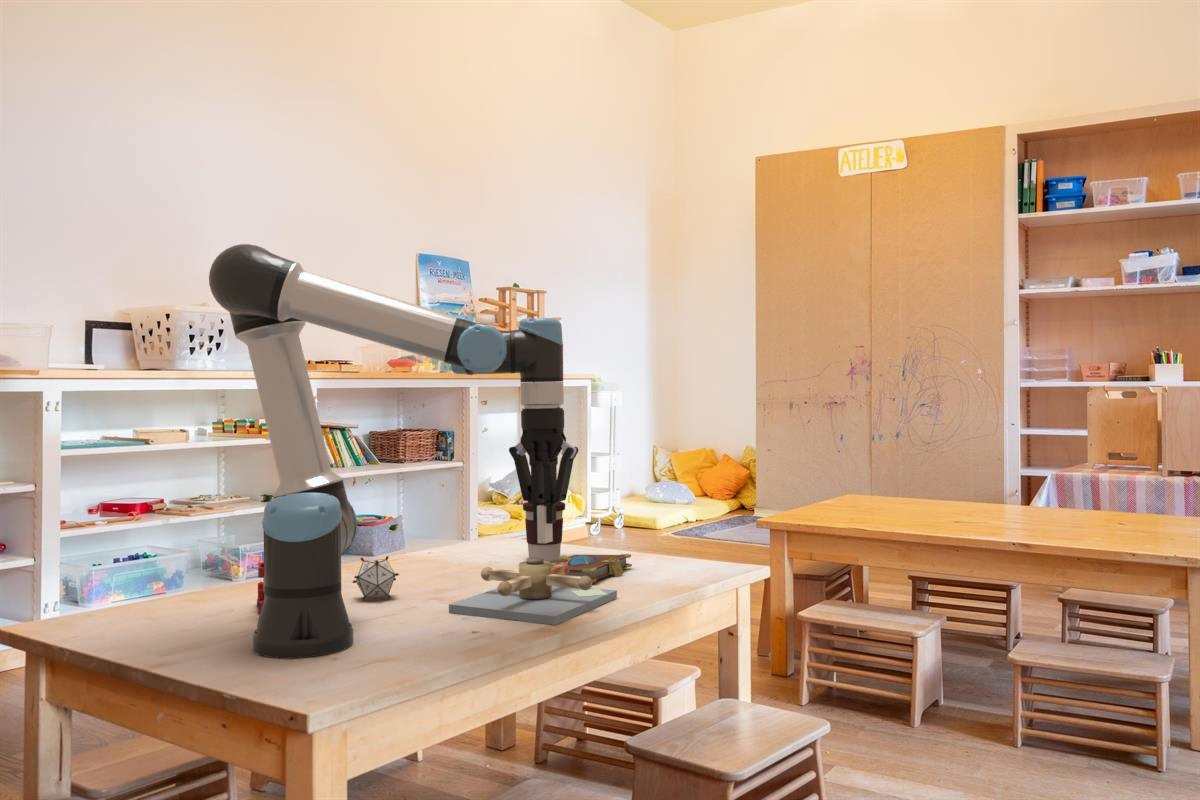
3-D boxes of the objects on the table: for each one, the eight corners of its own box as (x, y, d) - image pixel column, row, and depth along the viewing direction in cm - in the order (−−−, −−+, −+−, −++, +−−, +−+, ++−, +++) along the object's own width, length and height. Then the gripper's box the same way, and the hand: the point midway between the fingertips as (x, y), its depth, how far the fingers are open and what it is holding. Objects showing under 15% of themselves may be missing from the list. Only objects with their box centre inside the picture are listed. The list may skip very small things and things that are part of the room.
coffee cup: (569, 562, 229) (568, 498, 229) (526, 564, 227) (526, 499, 227) (561, 555, 239) (560, 493, 239) (520, 557, 237) (519, 495, 236)
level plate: (557, 625, 168) (556, 610, 168) (448, 612, 178) (448, 598, 178) (618, 598, 190) (618, 584, 190) (518, 588, 200) (518, 575, 200)
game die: (381, 619, 190) (384, 583, 184) (342, 602, 191) (344, 566, 185) (404, 589, 197) (408, 553, 191) (367, 572, 198) (370, 537, 192)
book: (519, 590, 205) (518, 565, 205) (573, 569, 227) (572, 548, 227) (591, 592, 198) (589, 567, 198) (638, 570, 220) (637, 548, 220)
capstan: (559, 614, 168) (559, 574, 168) (445, 602, 179) (445, 564, 179) (620, 589, 189) (619, 553, 189) (514, 579, 200) (514, 545, 200)
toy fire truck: (275, 602, 188) (274, 552, 188) (278, 618, 175) (278, 563, 175) (256, 604, 187) (256, 553, 187) (258, 620, 174) (258, 565, 174)
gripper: (585, 406, 173) (588, 540, 173) (521, 406, 179) (524, 537, 179) (564, 407, 166) (567, 547, 167) (499, 407, 172) (502, 543, 172)
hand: (545, 542), depth 173 cm, fingers closed
